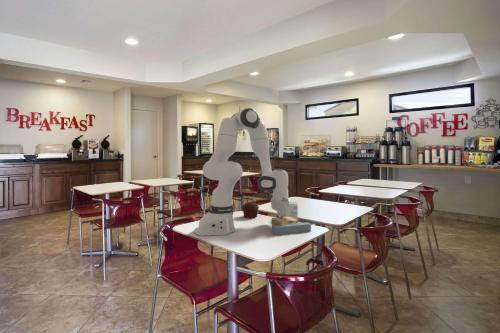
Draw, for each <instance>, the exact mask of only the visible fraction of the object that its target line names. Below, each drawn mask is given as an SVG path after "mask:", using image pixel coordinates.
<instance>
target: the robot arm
mask: <svg viewBox="0 0 500 333" xmlns="http://www.w3.org/2000/svg"><path fill="white" fill-rule="evenodd" d="M267 129H268V128H267V127H266V123H264V122H263V121H262V120H261V118H260V117H259V114H258V112H257V111H256V109H254V108H250V107H249V108H248V107H247V108H244V109H242V110H239V111H237V112H235V113H234V114H232V116H231V117H225V118H223V119H222V120H221V123H220V124H219V129H218V134H217V139H216V143H215V148H214V151H213V152H212V155H211V156H210V158H209V159H208V160H207V161H206V162H205V163H204V164H203V166H202V174H203V176H204V177H205V178H207V179H209V180H214V181H218V183H217V187H216V188H215V189H213V191H212V194H211V195H212V205H209V204H208V205H207V206H206V209H207V210H208V212H207V213H206V214H205V215H203V217H201V218H200V219H199V222H198V227H195V228H194V234H196V235H198V236H200V237H202V236H203V237H204V236H223V235H224V236H225V235H230V234H231V233H234V232H235V231H236V228H235V224H234V222H235V221H234V216H233V215H234V205H233V192H234V189H235V185H236V183H237V182H238V181H239V180H240V179H241V178H242V177H243V172H244V171H243V166H242V165H241V164H240V163H238V162H236V161H232V160H229V159H230V157H231V156H232V155H234V153H235V152H236V148H237V143H238V136H239V135H238V134H239V132H240V131H243V130H246V131H247V132H248V135H249V141H250V146H251V149H252V151H253V154H254V155H255V156H257V158H258V160H259V162H260V163H259V164H260V167H261V173H262V174H261V176H260V177H258V178H257V182H256V183H257V187H258V188H259V190H261V191H263V192H269V191H272V193H270V195H269V196H270V205H271V206H270V207H271V209H272V210H273V211H276V212H277V217H283V216H284V215H290V214H291V206H290V202H291V201H289V188H288V187H289V173H288V172H287V171H286V170H284V169H281V168H276V169H274V170H273V168H272V162H271V158H270V155H271V154H270V139H269V138H270V137H269V134H268V130H267Z"/></svg>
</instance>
